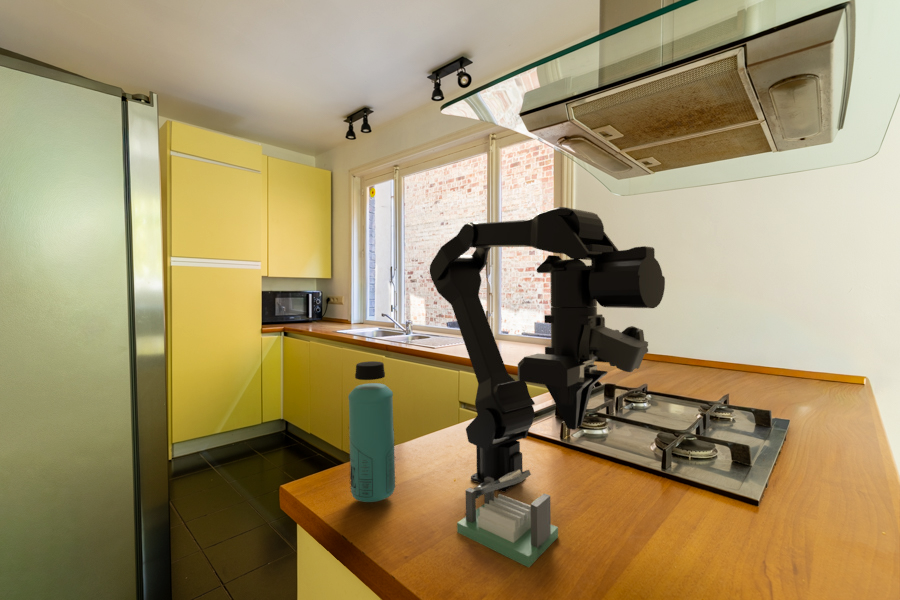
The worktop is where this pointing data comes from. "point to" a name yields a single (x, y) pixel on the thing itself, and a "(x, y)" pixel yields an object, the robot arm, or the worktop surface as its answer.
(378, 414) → the beverage bottle
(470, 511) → the board
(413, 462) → the worktop surface
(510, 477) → the strap
